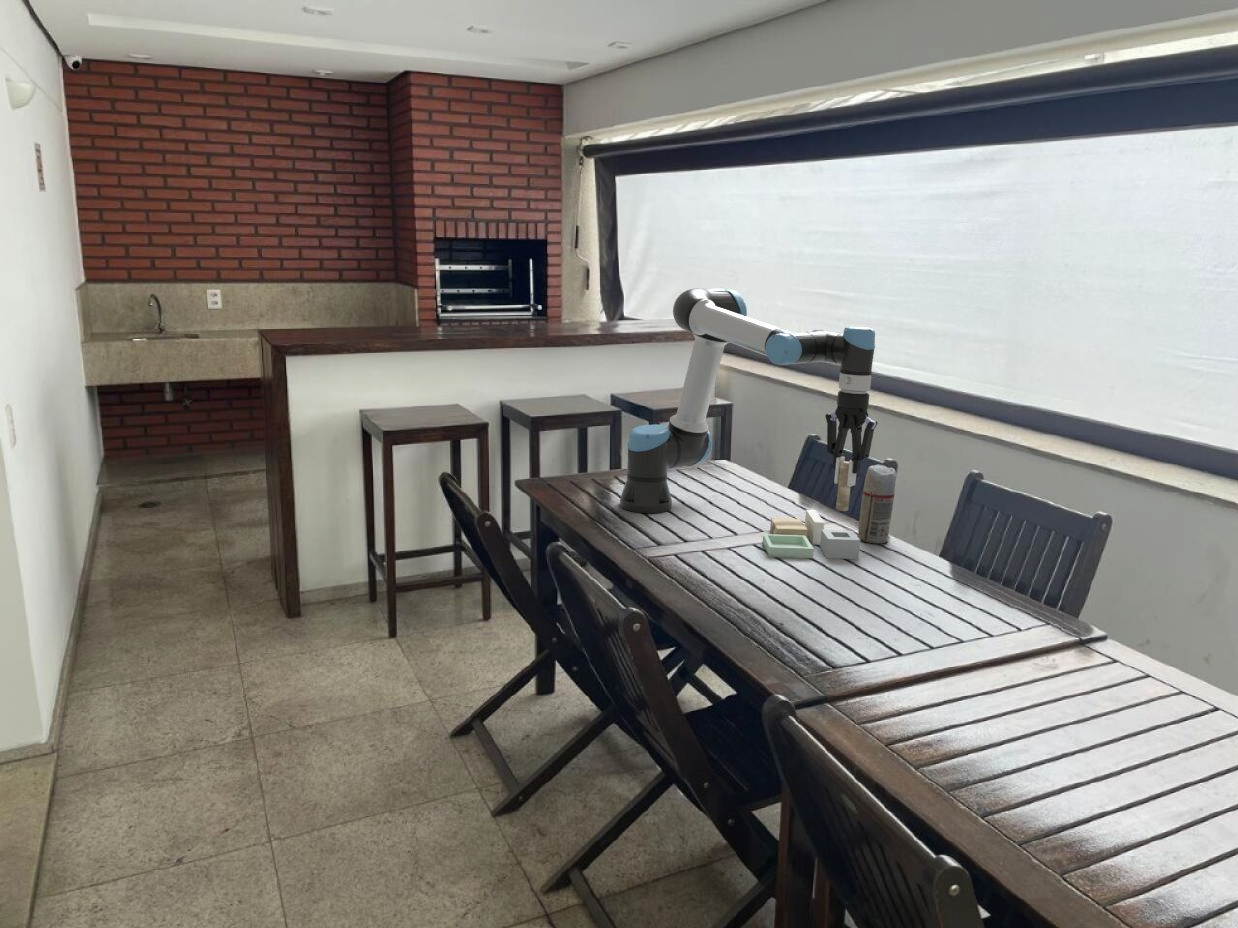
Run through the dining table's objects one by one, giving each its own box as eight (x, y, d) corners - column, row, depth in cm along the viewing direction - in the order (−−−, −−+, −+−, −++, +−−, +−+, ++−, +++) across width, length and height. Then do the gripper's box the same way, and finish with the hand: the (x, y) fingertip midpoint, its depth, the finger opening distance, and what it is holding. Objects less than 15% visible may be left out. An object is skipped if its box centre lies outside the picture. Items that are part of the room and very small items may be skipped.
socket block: (820, 548, 249) (821, 529, 248) (851, 549, 249) (852, 530, 248) (826, 558, 241) (828, 538, 240) (858, 559, 241) (860, 540, 240)
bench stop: (804, 530, 264) (806, 509, 262) (813, 531, 264) (815, 509, 262) (812, 544, 252) (814, 522, 251) (822, 544, 252) (824, 522, 251)
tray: (762, 543, 251) (763, 533, 251) (804, 544, 251) (805, 535, 251) (768, 556, 241) (769, 547, 240) (812, 558, 241) (813, 548, 240)
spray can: (886, 536, 262) (894, 464, 257) (891, 545, 254) (899, 471, 249) (854, 534, 262) (861, 462, 258) (859, 543, 254) (866, 469, 250)
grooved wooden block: (769, 532, 262) (770, 518, 262) (799, 533, 263) (800, 518, 262) (775, 543, 253) (777, 528, 252) (806, 544, 253) (807, 529, 252)
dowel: (833, 508, 243) (838, 462, 240) (840, 506, 245) (844, 460, 242) (844, 511, 241) (848, 464, 238) (850, 509, 243) (855, 463, 240)
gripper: (817, 387, 238) (808, 479, 244) (875, 397, 228) (865, 493, 233) (833, 385, 244) (824, 475, 249) (891, 394, 233) (881, 488, 239)
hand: (844, 483), depth 241 cm, fingers closed on dowel, 3 cm apart
